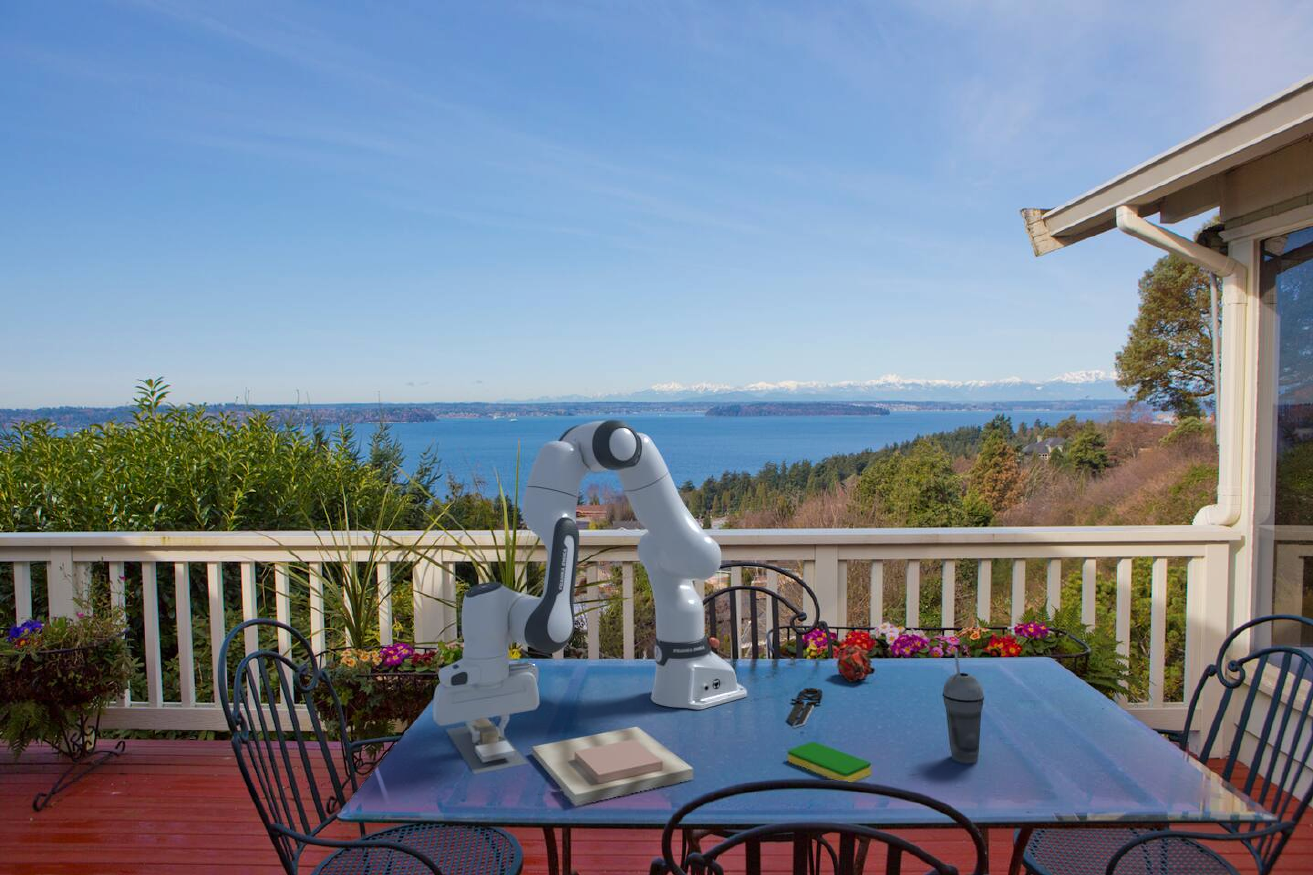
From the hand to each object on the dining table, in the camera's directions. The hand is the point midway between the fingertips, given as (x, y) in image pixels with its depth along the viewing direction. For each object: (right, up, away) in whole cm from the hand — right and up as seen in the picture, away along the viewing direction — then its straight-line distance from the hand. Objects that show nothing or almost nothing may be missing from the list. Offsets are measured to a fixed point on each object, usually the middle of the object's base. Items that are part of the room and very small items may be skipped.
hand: (488, 739), depth 158 cm
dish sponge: (+64, -2, -10) cm, 65 cm away
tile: (+23, +1, -7) cm, 24 cm away
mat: (-1, -3, +3) cm, 4 cm away
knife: (+65, -2, +21) cm, 69 cm away
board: (+24, -2, -8) cm, 26 cm away
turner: (-1, -1, +2) cm, 2 cm away
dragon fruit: (+82, -1, +43) cm, 92 cm away
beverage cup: (+89, -1, -8) cm, 90 cm away
